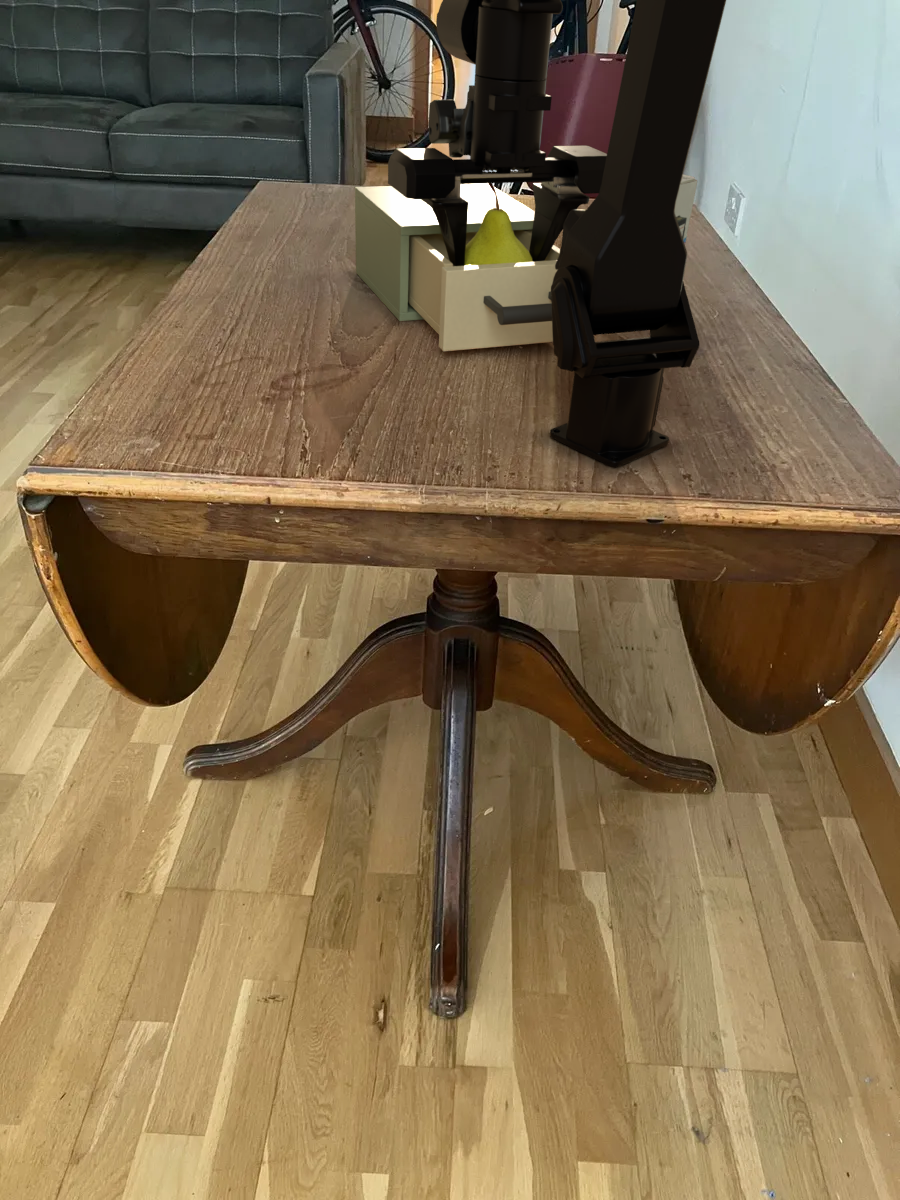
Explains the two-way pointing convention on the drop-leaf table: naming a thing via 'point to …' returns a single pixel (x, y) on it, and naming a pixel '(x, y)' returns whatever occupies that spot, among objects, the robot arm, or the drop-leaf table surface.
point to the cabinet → (395, 217)
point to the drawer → (481, 296)
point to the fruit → (495, 241)
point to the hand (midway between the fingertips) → (495, 275)
